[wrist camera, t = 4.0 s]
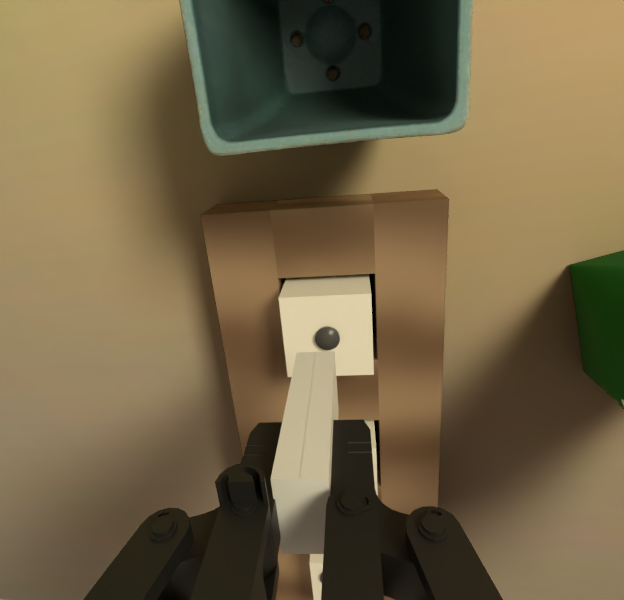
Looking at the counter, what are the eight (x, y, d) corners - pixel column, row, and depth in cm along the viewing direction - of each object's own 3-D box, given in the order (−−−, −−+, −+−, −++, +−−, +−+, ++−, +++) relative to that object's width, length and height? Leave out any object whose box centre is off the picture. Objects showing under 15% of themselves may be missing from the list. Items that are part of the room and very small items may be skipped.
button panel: (427, 579, 35) (433, 619, 32) (276, 576, 36) (270, 614, 33) (437, 189, 23) (448, 198, 21) (217, 204, 25) (200, 215, 22)
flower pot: (425, 127, 22) (470, 132, 14) (255, 143, 23) (203, 158, 15) (426, -90, 19) (485, -250, 11) (228, -61, 20) (142, -186, 12)
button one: (370, 342, 26) (374, 376, 22) (295, 344, 26) (287, 379, 23) (368, 270, 24) (371, 295, 20) (288, 274, 24) (277, 299, 21)
